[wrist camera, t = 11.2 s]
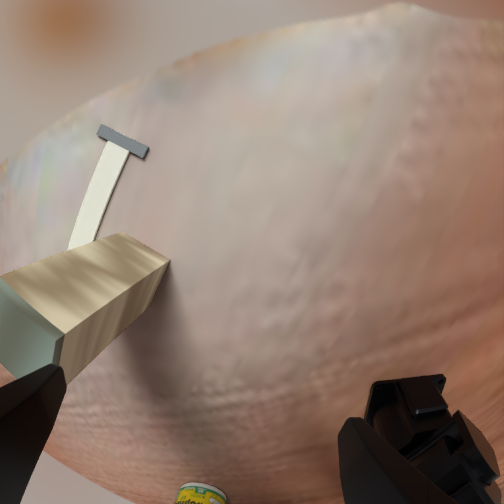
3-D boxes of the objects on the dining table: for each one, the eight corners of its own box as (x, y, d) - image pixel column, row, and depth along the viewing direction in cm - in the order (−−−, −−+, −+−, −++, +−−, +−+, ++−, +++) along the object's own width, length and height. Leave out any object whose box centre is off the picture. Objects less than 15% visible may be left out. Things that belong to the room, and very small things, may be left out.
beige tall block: (170, 259, 20) (55, 340, 9) (149, 306, 21) (47, 404, 10) (122, 231, 20) (-11, 280, 9) (105, 278, 21) (-13, 350, 10)
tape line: (102, 124, 19) (101, 124, 19) (149, 147, 19) (147, 147, 19) (44, 303, 23) (42, 303, 23) (80, 331, 23) (78, 332, 23)
